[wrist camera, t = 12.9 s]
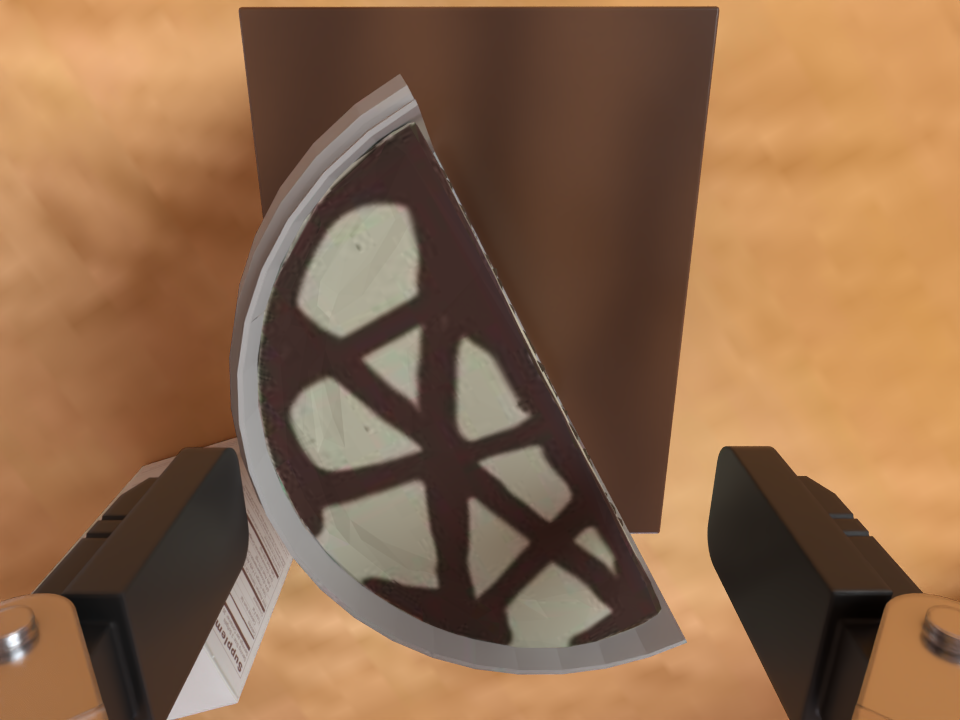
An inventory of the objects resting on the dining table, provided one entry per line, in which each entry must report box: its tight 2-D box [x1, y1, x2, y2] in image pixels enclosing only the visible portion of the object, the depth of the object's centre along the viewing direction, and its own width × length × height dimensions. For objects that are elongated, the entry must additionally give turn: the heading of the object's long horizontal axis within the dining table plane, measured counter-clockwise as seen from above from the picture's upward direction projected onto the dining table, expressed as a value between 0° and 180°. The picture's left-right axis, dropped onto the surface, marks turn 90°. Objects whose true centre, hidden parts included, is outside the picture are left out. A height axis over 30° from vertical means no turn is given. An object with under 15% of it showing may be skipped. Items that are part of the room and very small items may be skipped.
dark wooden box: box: [239, 6, 719, 534], centre depth 28 cm, size 13×17×14 cm
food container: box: [229, 74, 687, 674], centre depth 17 cm, size 12×6×10 cm, turn 27°
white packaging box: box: [31, 437, 293, 720], centre depth 34 cm, size 7×7×13 cm
